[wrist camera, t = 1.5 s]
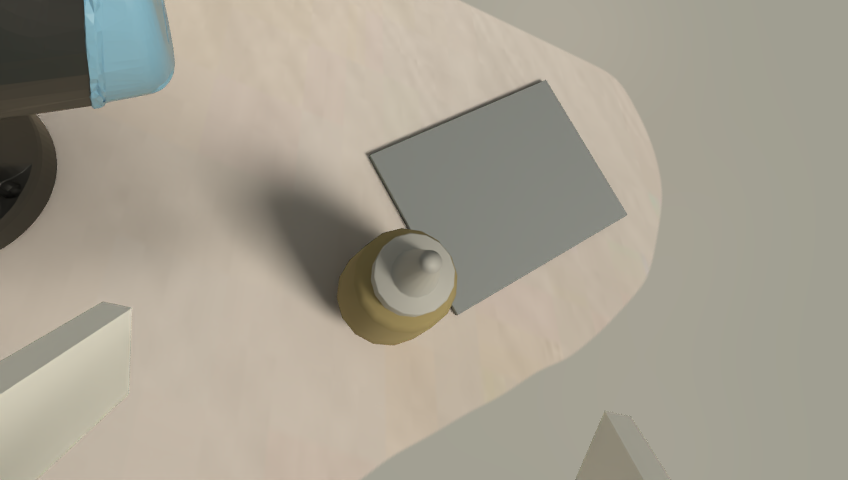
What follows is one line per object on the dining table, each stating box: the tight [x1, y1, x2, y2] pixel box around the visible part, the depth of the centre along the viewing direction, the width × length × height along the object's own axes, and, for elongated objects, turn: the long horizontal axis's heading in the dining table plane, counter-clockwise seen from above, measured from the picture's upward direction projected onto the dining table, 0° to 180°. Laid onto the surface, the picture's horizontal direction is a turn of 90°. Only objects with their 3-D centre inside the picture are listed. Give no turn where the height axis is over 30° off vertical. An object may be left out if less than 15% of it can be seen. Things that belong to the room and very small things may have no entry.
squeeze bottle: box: [337, 228, 457, 345], centre depth 29 cm, size 8×8×18 cm
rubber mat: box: [370, 80, 627, 315], centre depth 42 cm, size 16×21×1 cm
